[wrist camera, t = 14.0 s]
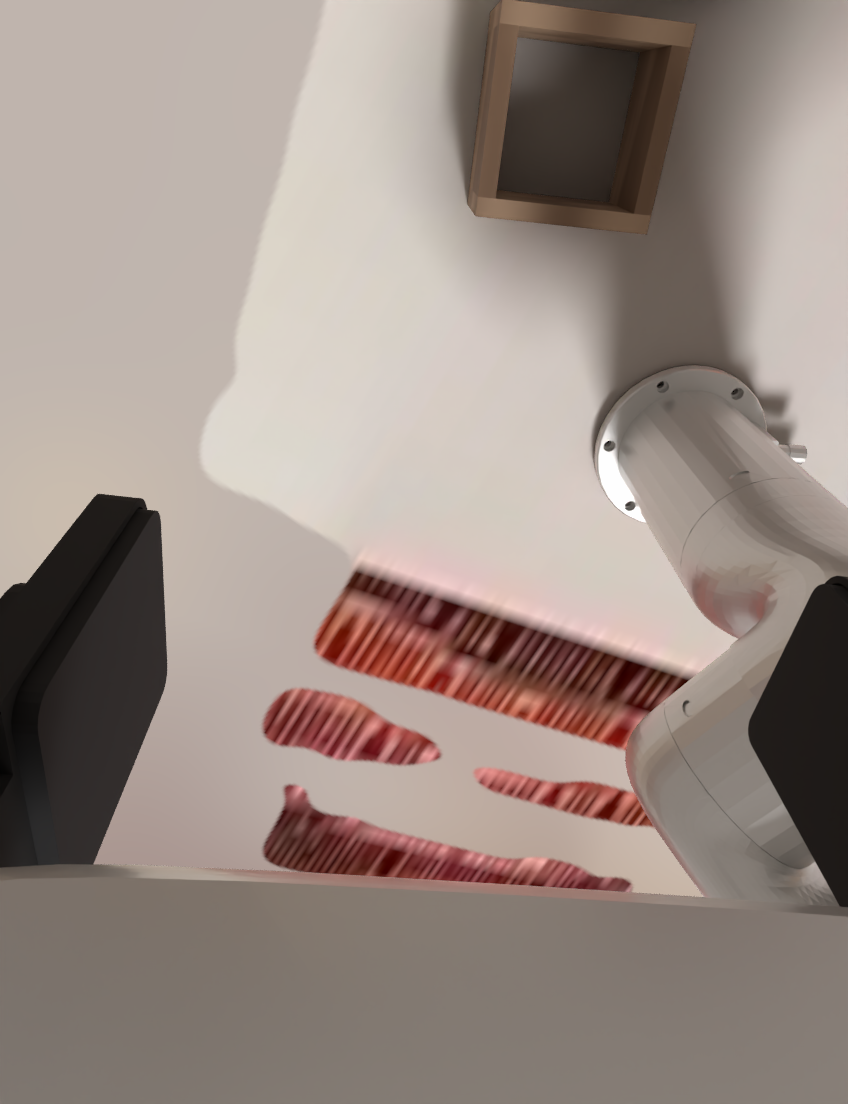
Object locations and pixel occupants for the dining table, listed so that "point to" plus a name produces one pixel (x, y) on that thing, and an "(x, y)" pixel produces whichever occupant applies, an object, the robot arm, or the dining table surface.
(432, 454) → the dining table surface
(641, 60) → the open square wooden box
